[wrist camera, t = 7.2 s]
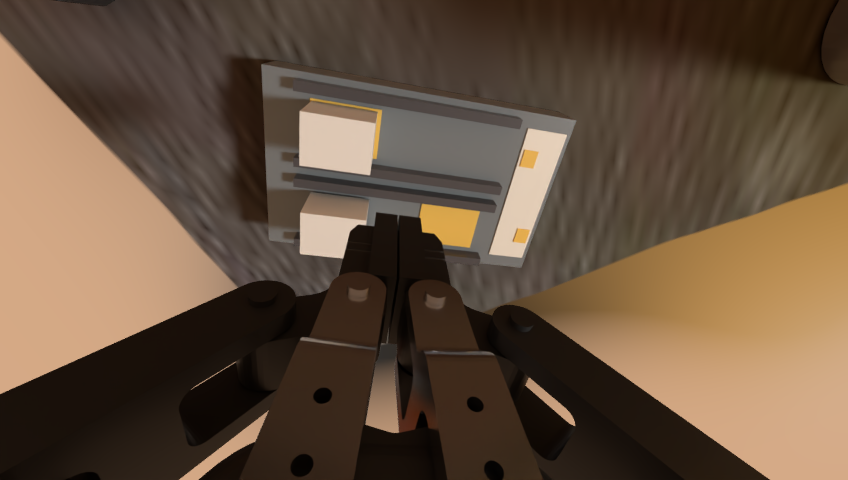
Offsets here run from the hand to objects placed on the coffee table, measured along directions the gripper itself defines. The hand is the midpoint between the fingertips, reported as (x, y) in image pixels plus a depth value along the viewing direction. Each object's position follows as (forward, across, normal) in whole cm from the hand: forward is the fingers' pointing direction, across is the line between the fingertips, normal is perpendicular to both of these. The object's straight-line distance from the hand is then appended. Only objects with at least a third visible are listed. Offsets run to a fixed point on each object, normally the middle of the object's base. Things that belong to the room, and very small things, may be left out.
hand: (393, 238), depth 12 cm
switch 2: (+13, +3, +6) cm, 15 cm away
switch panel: (+16, -2, +3) cm, 17 cm away
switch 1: (+13, +3, 0) cm, 13 cm away
